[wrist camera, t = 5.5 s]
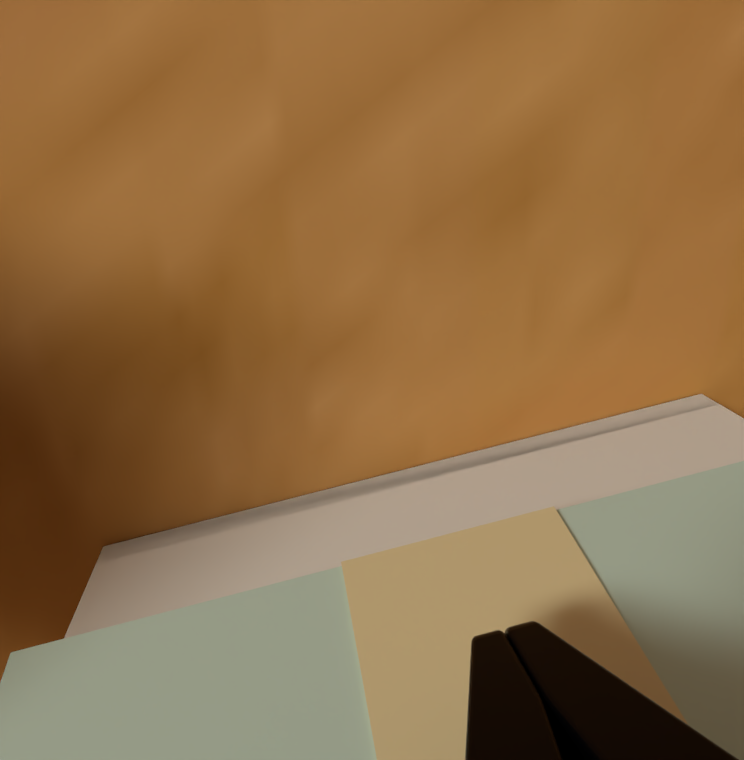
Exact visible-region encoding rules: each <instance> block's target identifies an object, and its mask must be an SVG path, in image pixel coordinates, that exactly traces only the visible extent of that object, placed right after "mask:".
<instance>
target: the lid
mask: <svg viewBox="0 0 744 760" xmlns="http://www.w3.org/2000/svg"><path fill="white" fill-rule="evenodd" d="M341 564H342V566H340V567H336V568H332V569H328V570H324V571H321V572H317V573H313V574H309V575H305V576H301V577H298V578H294V579H290V580H286V581H282V582H278V583H275V584H271V585H267V586H263V587H259V588H256V589H252V590H248V591H244V592H240V593H236V594H233V595H229V596H225V597H221V598H217V599H213V600H210V601H206V602H202V603H198V604H194V605H190V606H187V607H183V608H179V609H175V610H171V611H168V612H164V613H160V614H156V615H152V616H148V617H145V618H141V619H137V620H133V621H129V622H125V623H122V624H118V625H114V626H110V627H106V628H103V629H99V630H95V631H91V632H87V633H83V634H80V635H76V636H72V637H68V638H64V639H60V640H57V641H53V642H49V643H45V644H41V645H37V646H34V647H30V648H26V649H22V650H18V651H15V652H11V653H10V656H9V659H8V662H7V665H6V668H5V671H4V673H3V676H2V679H1V682H0V760H465V751H466V732H467V713H468V694H469V675H470V656H471V641H472V638H473V637H474V636H477V635H480V634H484V633H488V632H492V631H495V630H501V631H503V632H504V633H505V630H506V629H507V628H508V627H510V626H514V625H518V624H522V623H526V622H529V621H535V622H538V623H540V624H541V625H543V626H544V627H546V628H547V629H549V630H550V631H552V632H553V633H554V634H556V635H557V636H559V637H560V638H562V639H563V640H565V641H566V642H568V643H569V644H571V645H572V646H573V647H575V648H576V649H578V650H579V651H581V652H582V653H584V654H585V655H587V656H588V657H590V658H591V659H592V660H594V661H595V662H597V663H598V664H600V665H601V666H603V667H604V668H606V669H607V670H609V671H610V672H611V673H613V674H614V675H616V676H617V677H619V678H620V679H622V680H623V681H625V682H626V683H628V684H629V685H631V686H632V687H633V688H635V689H636V690H638V691H639V692H641V693H642V694H644V695H645V696H647V697H648V698H650V699H651V700H652V701H654V702H655V703H657V704H658V705H660V706H661V707H663V708H664V709H666V710H667V711H669V712H670V713H671V714H673V715H674V716H676V717H677V718H679V719H680V720H682V721H683V722H685V723H686V724H688V725H689V726H691V727H692V728H693V729H695V730H696V731H698V732H699V733H701V734H702V735H704V736H705V737H707V738H708V739H710V740H711V741H712V742H714V743H715V744H717V745H718V746H720V747H721V748H723V749H724V750H726V751H727V752H729V753H730V754H731V755H733V756H734V757H736V758H737V759H739V760H744V461H741V462H737V463H734V464H730V465H726V466H722V467H718V468H715V469H711V470H707V471H703V472H699V473H695V474H692V475H688V476H684V477H680V478H676V479H672V480H669V481H665V482H661V483H657V484H653V485H650V486H646V487H642V488H638V489H634V490H630V491H627V492H623V493H619V494H615V495H611V496H607V497H604V498H600V499H596V500H592V501H588V502H584V503H581V504H577V505H573V506H569V507H565V508H562V509H558V510H556V509H555V507H554V506H553V507H549V508H545V509H542V510H538V511H534V512H530V513H526V514H522V515H519V516H515V517H511V518H507V519H503V520H499V521H496V522H492V523H488V524H484V525H480V526H476V527H473V528H469V529H465V530H461V531H457V532H453V533H450V534H446V535H442V536H438V537H434V538H431V539H427V540H423V541H419V542H415V543H411V544H408V545H404V546H400V547H396V548H392V549H388V550H385V551H381V552H377V553H373V554H369V555H365V556H362V557H358V558H354V559H350V560H346V561H342V562H341Z"/></svg>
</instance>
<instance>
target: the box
mask: <svg viewBox="0 0 744 760" xmlns="http://www.w3.org/2000/svg"><path fill="white" fill-rule="evenodd" d="M741 461H744V418H742V417H740V416H739V415H737V414H735V413H734V412H732V411H730V410H729V409H727V408H725V407H723V406H722V405H720V404H718V403H717V402H715V401H713V400H711V399H710V398H708V397H706V396H705V395H703V394H699V395H695V396H691V397H687V398H683V399H679V400H675V401H671V402H667V403H663V404H659V405H656V406H652V407H648V408H644V409H640V410H636V411H632V412H628V413H624V414H620V415H616V416H612V417H609V418H605V419H601V420H597V421H593V422H589V423H585V424H581V425H577V426H573V427H569V428H565V429H562V430H558V431H554V432H550V433H546V434H542V435H538V436H534V437H530V438H526V439H522V440H518V441H515V442H511V443H507V444H503V445H499V446H495V447H491V448H487V449H483V450H479V451H475V452H471V453H468V454H464V455H460V456H456V457H452V458H448V459H444V460H440V461H436V462H432V463H428V464H424V465H421V466H417V467H413V468H409V469H405V470H401V471H397V472H393V473H389V474H385V475H381V476H377V477H374V478H370V479H366V480H362V481H358V482H354V483H350V484H346V485H342V486H338V487H334V488H330V489H327V490H323V491H319V492H315V493H311V494H307V495H303V496H299V497H295V498H291V499H287V500H283V501H280V502H276V503H272V504H268V505H264V506H260V507H256V508H252V509H248V510H244V511H240V512H236V513H233V514H229V515H225V516H221V517H217V518H213V519H209V520H205V521H201V522H197V523H193V524H189V525H186V526H182V527H178V528H174V529H170V530H166V531H162V532H158V533H154V534H150V535H146V536H142V537H139V538H135V539H131V540H127V541H123V542H119V543H115V544H111V545H107V546H103V548H102V551H101V553H100V555H99V558H98V560H97V562H96V565H95V567H94V569H93V572H92V574H91V576H90V579H89V581H88V583H87V586H86V588H85V590H84V593H83V595H82V597H81V600H80V602H79V604H78V606H77V609H76V611H75V613H74V616H73V618H72V620H71V623H70V625H69V627H68V630H67V632H66V634H65V637H64V638H68V637H72V636H76V635H80V634H83V633H87V632H91V631H95V630H99V629H103V628H106V627H110V626H114V625H118V624H122V623H125V622H129V621H133V620H137V619H141V618H145V617H148V616H152V615H156V614H160V613H164V612H168V611H171V610H175V609H179V608H183V607H187V606H190V605H194V604H198V603H202V602H206V601H210V600H213V599H217V598H221V597H225V596H229V595H233V594H236V593H240V592H244V591H248V590H252V589H256V588H259V587H263V586H267V585H271V584H275V583H278V582H282V581H286V580H290V579H294V578H298V577H301V576H305V575H309V574H313V573H317V572H321V571H324V570H328V569H332V568H336V567H340V566H342V564H341V562H342V561H346V560H350V559H354V558H358V557H362V556H365V555H369V554H373V553H377V552H381V551H385V550H388V549H392V548H396V547H400V546H404V545H408V544H411V543H415V542H419V541H423V540H427V539H431V538H434V537H438V536H442V535H446V534H450V533H453V532H457V531H461V530H465V529H469V528H473V527H476V526H480V525H484V524H488V523H492V522H496V521H499V520H503V519H507V518H511V517H515V516H519V515H522V514H526V513H530V512H534V511H538V510H542V509H545V508H549V507H553V506H554V507H555V509H556V510H558V509H562V508H565V507H569V506H573V505H577V504H581V503H584V502H588V501H592V500H596V499H600V498H604V497H607V496H611V495H615V494H619V493H623V492H627V491H630V490H634V489H638V488H642V487H646V486H650V485H653V484H657V483H661V482H665V481H669V480H672V479H676V478H680V477H684V476H688V475H692V474H695V473H699V472H703V471H707V470H711V469H715V468H718V467H722V466H726V465H730V464H734V463H737V462H741Z"/></svg>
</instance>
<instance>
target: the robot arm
mask: <svg viewBox="0 0 744 760" xmlns="http://www.w3.org/2000/svg"><path fill="white" fill-rule="evenodd" d="M465 760H739V759H737V758H736V757H734V756H733V755H731V754H730V753H729V752H727V751H726V750H724V749H723V748H721V747H720V746H718V745H717V744H715V743H714V742H712V741H711V740H710V739H708V738H707V737H705V736H704V735H702V734H701V733H699V732H698V731H696V730H695V729H693V728H692V727H691V726H689V725H688V724H686V723H685V722H683V721H682V720H680V719H679V718H677V717H676V716H674V715H673V714H671V713H670V712H669V711H667V710H666V709H664V708H663V707H661V706H660V705H658V704H657V703H655V702H654V701H652V700H651V699H650V698H648V697H647V696H645V695H644V694H642V693H641V692H639V691H638V690H636V689H635V688H633V687H632V686H631V685H629V684H628V683H626V682H625V681H623V680H622V679H620V678H619V677H617V676H616V675H614V674H613V673H611V672H610V671H609V670H607V669H606V668H604V667H603V666H601V665H600V664H598V663H597V662H595V661H594V660H592V659H591V658H590V657H588V656H587V655H585V654H584V653H582V652H581V651H579V650H578V649H576V648H575V647H573V646H572V645H571V644H569V643H568V642H566V641H565V640H563V639H562V638H560V637H559V636H557V635H556V634H554V633H553V632H552V631H550V630H549V629H547V628H546V627H544V626H543V625H541V624H540V623H538V622H535V621H529V622H526V623H522V624H518V625H514V626H510V627H508V628H507V629H506V630H505V633H504V632H503V631H501V630H495V631H492V632H488V633H484V634H480V635H477V636H474V637H473V638H472V641H471V656H470V675H469V694H468V713H467V732H466V751H465Z"/></svg>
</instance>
